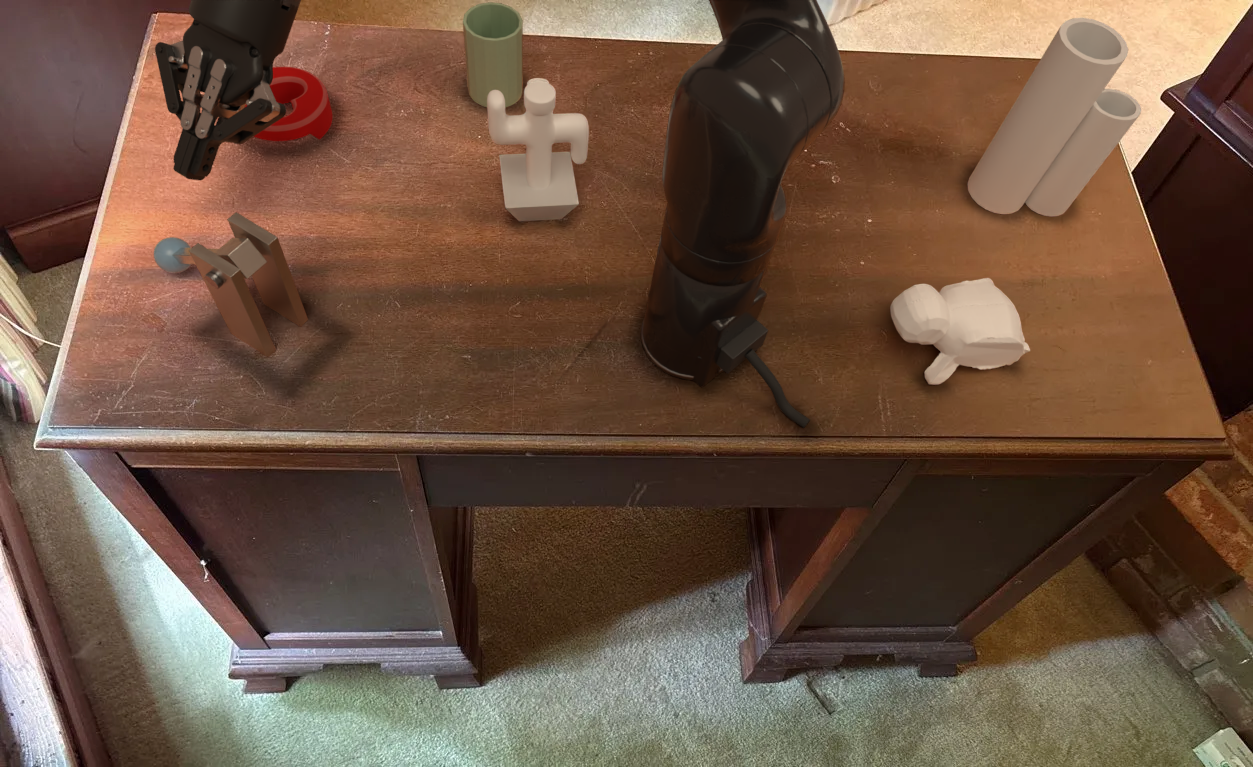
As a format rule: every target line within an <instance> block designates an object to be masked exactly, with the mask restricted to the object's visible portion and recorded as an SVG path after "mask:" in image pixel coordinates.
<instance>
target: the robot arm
mask: <svg viewBox="0 0 1253 767" xmlns="http://www.w3.org/2000/svg"><path fill="white" fill-rule="evenodd" d="M301 2H302V0H190V3H189V6H188V13H189V15H190V16H191V18H192V19H193V20H192V23H191V25H190V26H189V27H188V28H187V29H186V30H185V32H184V33H183V36H182V40H181V41H180V40H179V41H178V42H177V41H176V42H175V43H171V44H169V43H165V42H163V41H159V42H157V43H156V44H155V47H154V51H155V52H154V53H155V56H156V57H155V58H156V62H157V67H158V70H159V76H160V80H161V85H162V91H163V95H164V98H165V103H166V107H167V111H168V112H169V113H170V114H174V115H175V116H176V117H177V118H178V120H179V121H180V122H179V123H180V127H181V128H182V130H181V133H180V136H179V138H178V142H177V146H176V148H175V151H174V155H173V164H174V165H173V171H174V172H176V173H177V174H179V175H180V176H182V177H184V178H185V179H187V180H194V181H203V180H204V179H205V178H206V177H207V178H208V176H209V175H210V174H211V172H212V170H213V166H214V163H215V159H216V157H217V155H218V151H219V149H220V146H221V145H222V144H223V143H232V144H236V145H242V144H244V143H245V142H247V141H249V140H251V139H252V138H255V137H254V136H255V135H257V134H258V133H260V132H261V131H263V130H264V129H266V128H267V127H269V126H270V125H272V124H274V123H275V122H277V121H278V120H280V119H281V118H283V117H284V116H286V114H287V107H286V105H285V104H281V103H277V102H276V100H275V97H274V95H273V93H272V90H271V88H270V86H269V85H270V84H271V83H272V80H273V67H274V61H275V60H276V58H277V57H278V56H280V55H281V54H283V52H284V51H285V47H286V45H287V43H288V42H287V41H288V38H289V36H290V33H291V30H292V28H293V24H294V22H295V19H296V16H297V13H298V11H299V7H300V5H301ZM708 2H709V4H710V6H711V8H712V11H713V14H714V17H715V20H716V22H717V25H718V28H719V32H720V36H721V39H722V40H721V41H719V42H718V43H717V44H716V45H715V46H714V47H713V48H711V49H710V50H708V52H706V53H705V54H704V55H703V56H701V57H700V58H699V59H698V60H697V61H696V62H694V63H693V64H692V65H691V66H690V67H689V68H688V69H687V70H686V71H685V72H684V74H682V76H681V78H680V79H679V82H678V83H677V86H676V88H675V91H674V93H673V97H672V99H671V102H670V103H671V104H670V108H669V113H668V120H667V127H666V135H665V144H664V151H663V160H662V161H663V162H662V170H661V175H662V176H661V181H662V188H663V193H664V196H665V200H666V205H665V212H664V216H663V223H662V227H661V231H660V236H659V241H658V247H657V253H656V256H655V262H654V267H653V271H652V272H653V273H652V276H651V283H650V287H649V291H648V295H647V296H648V297H647V301H646V306H645V307H646V308H645V313H644V317H643V319H642V322H641V328H640V342H641V345H642V348H643V351H644V353H645V355H646V356H647V358H648V360H649V361H650V362H651V363H652V364H653V365H654V366H655V367H656V368H658V369H659V370H660V371H662V372H663V373H665V374H667V375H670V376H672V377H674V378H677V379H681V380H688V381H693V382H695V384H697V385H698V386H699V387H701V388H704V387H705V386H706V385H707V384H709V383H711V381H713V380H714V379H715V378H717V376H719V375H721V374H722V373H723V372H724V373H726V374H730V373H731V372H732V371H733V370H734V369H736V368H737V367H738V366H740V365H741V364H742V363H743V362H745V360H747V361H748V362H749V364H751V366H752V368H753V369H755V371H756V372H757V373H758V375H759V376H760V377H761V378H762V379H763V381H764V383H766V385H767V387H768V388H769V389H770V391H771V393H772V395H773V397H774V400H775V403H776V405H777V406H778V408H779V409H780V411H781V412H782V413H783V414H784V415H785V416H786V418H788V419H790V420H791V421H792V422H793V423H796V424H797V425H798V426H800V427H802V429H804V428H806V426H807V425H808V424H809V423H810V421H811V419H810V418H809V417H807V416H806V415H804V413H803V414H802V413H801V412H800V411H799V410H797V409H795V408H794V406H792V404H791V403H790V402H789V401H788V399H787V398H786V395H785V392H784V390H783V387H782V385H781V384H780V382H779V381H778V379H777V378H776V375H775V374H774V373H773V372H772V371H771V370H770V368H769V367H768V365H766V363H765V362H764V361H763V360H762V358H760V356H759V355H758V354H757V353H756V352H757V351H758V350H760V348H761V347H763V344H764V342H765V340H766V337H767V335H768V332H769V329H768V328H767V327H765V325H763V323H761V322H760V321H759V317H760V315H761V312H762V309H763V306H764V304H765V302H766V299H767V296H768V292H767V291H766V290H765V289H764V288H762V286H761V285H762V283H763V280H764V277H765V275H766V271H767V269H768V267H769V263H770V261H771V258H772V256H773V253H774V250H775V247H776V245H777V242H778V239H779V237H780V235H781V232H782V230H783V227H784V224H785V221H786V217H787V214H788V198H787V195H786V194H787V193H786V191H785V188H784V187H783V185H782V182H783V181H784V177H785V175H786V173H787V170H788V169H789V167H790V166H791V165H792V164H793V163H794V162H795V161H796V159H798V157H799V156H800V155H801V154H802V153H803V152H804V151H805V150H807V148H808V147H809V146H810V145H811V144H813V142H814V141H815V140H816V139H818V137H819V136H820V135H822V133H823V132H824V131H826V129H827V127H828V126H830V124H832V122H833V120H834V119H835V117H836V115H838V113H839V111H840V108H841V107H842V104H843V100H844V97H845V96H844V95H845V86H846V80H845V72H844V71H845V70H844V66H843V61H842V57H841V53H840V51H839V49H838V46H837V43H836V40H835V37H834V35H833V33H832V31H831V30H832V29H831V28H830V26H829V23H828V21H827V19H826V18H825V15H824V13H823V10H822V8H821V6H820V5H819V2H818V0H708ZM202 93H203V94H202ZM246 105H247V106H246ZM245 106H246V107H245Z"/></svg>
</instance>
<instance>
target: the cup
mask: <svg viewBox="0 0 1253 767" xmlns="http://www.w3.org/2000/svg"><path fill="white" fill-rule="evenodd" d="M462 19H463V20H462V29H463V43H464V44H463V45H464V46H463V47H464V58H465V59H464V60H465V70H466V71H465V72H466V73H465V74H466V85H467V86H466V87H467V92H468V95H469V97H470V98H471V100H472V101H473V102H474V103H476V104H477V105H479V106H481V107H484V108H487V97H488V94H489V92H490V91H492V90H499V91H500V92H501V93H502V94H503V96H504V99H505V109H506V108H508V107H511V106H513V105H515V104H517V103H518V102H519V101H520V99H521V98H522V96H523V94H524V26H523V25H524V24H523V23H524V20H523V18H522V16H521V14H520V12H519V11H517V10H516V9H514V7H513V6H510V5H507V4H506V3H505V4H504V3H503V2H502V3H501V2H491V1H489V2H482V3H477V4H476V5H473V6H471V7H469V8H468V10H467V11H466V12H465V13H464V14H463V18H462Z"/></svg>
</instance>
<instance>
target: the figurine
mask: <svg viewBox="0 0 1253 767" xmlns="http://www.w3.org/2000/svg"><path fill="white" fill-rule="evenodd" d="M556 99H557V92H556V89H555V87H554V86H553V85H552V84H551V83H550V81H549V80H548V79H546V78H542V77H534V78H531V79H529V80H527V82H526V86H525V87H524V88H523V106H524V108H525V112H524V113H522V114H513V115H511V114H510V115H509V114H507V110H506V108H505V99H504V96H503V94H502V93H501V92H500V91H499V90H492V91H490V92H489V94H488V97H487V107H486V109H487V110H486V111H487V129H488V134H489V137H490V139H491V141H492V142H493V143H494V144H495V145H498V146H515V145H516V146H517V145H523V146H525V152H524V153H504V154H503V153H502V154H498V156H499V157H498V158H499V165H500V166H499V167H500V175H501V183H502V192H503V199H504V208H505V210H507V212H509V213H510V215H512V217H514V218H515V219H516V220H517V221H518V222H534V221H536V222H537V221H552V220H553V221H554V220H562V219H563V218H565V217H566V216H567V215H568V214H569V213H570V212H572V211H573V210H574V209H575V208H577V207H578V206H579V205H580V203H579V202H580V201H579V196H578V190H577V183H576V179H575V174H574V167H573V163H574V164H577V165H583V164H585V163H586V161H587V158H588V150H589V136H590V126H589V121H588V118H587V116H585V115H584V114H582V113H579V112H564V113H554V110H555V108H556V101H557V100H556ZM563 143H564V144H565V143H569V144H570V151H554V152H553V145H554V144H563ZM572 161H573V162H572Z"/></svg>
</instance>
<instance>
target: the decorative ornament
mask: <svg viewBox="0 0 1253 767" xmlns="http://www.w3.org/2000/svg"><path fill="white" fill-rule="evenodd" d="M269 86H270V88H271V90H272V93H273V95H274V97H275V100H276V102H277V103H281V104H283V105H285V104H291V108H292V111H291V113H288V114H287V115H285V116H284V117H283V118H281V119H280V120H278V121H277V122H275V123H274V124H272V125H270V126H269V127H267V128H266V129H264V130H263V131H261V132H260V133H258V134H257V135H255V136H254V137H253V138H256V139H260V140H263V141H270V142H288V141H294V140H297V139H298V140H299V139H301V138H304V137H306V136H309V135H311V136H312V137H314V138H316V139H317V140H321V139H322V138H323V137H325V135H326V134H327V133H328V131H329V130H330V128H331V126H332V123H333V117H334V116H333V110H332V106H331V102H330V98H329V93H328V90H327V87H326V85H325V84H324V82H323V81H322V80H321V79H320V78H319V77H317V76H316V75H315V74H313V73H311V72H310V71H307V70H305V69H302V68H299V67H294V66H273V80H272V83H271V84H270V85H269ZM246 106H247V105H246ZM246 106H245V107H246Z"/></svg>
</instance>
